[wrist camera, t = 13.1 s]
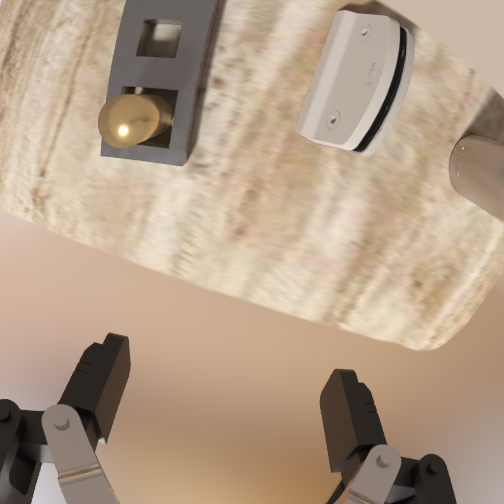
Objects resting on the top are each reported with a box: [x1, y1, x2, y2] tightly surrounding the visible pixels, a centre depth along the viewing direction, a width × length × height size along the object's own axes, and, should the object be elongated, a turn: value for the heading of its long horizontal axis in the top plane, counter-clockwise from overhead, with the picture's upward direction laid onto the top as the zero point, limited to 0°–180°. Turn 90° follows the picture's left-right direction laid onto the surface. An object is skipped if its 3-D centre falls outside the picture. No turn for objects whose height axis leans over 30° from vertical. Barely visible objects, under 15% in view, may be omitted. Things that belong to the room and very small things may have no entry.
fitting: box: [98, 94, 172, 148], centre depth 29 cm, size 5×5×9 cm
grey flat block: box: [100, 0, 219, 166], centre depth 29 cm, size 10×20×2 cm, turn 169°
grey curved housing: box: [293, 10, 414, 156], centre depth 27 cm, size 17×5×10 cm, turn 162°
